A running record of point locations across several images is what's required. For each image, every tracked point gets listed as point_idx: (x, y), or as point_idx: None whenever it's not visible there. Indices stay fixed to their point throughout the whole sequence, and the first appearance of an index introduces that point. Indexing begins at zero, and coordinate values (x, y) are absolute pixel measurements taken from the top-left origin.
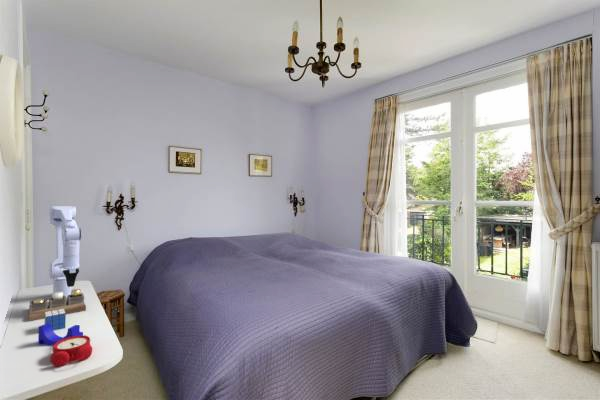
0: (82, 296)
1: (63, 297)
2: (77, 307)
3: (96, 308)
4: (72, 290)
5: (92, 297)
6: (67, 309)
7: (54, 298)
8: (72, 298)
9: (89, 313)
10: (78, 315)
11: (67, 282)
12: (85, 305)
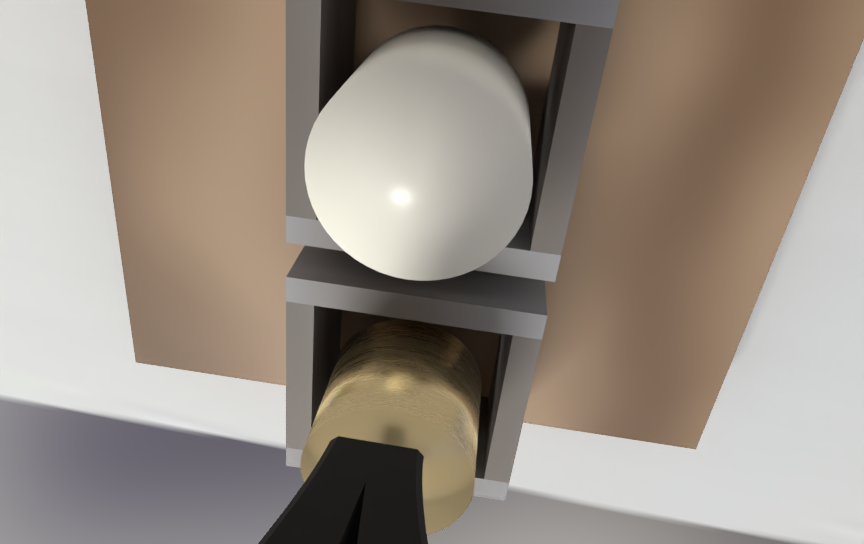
0: (288, 443)
1: (532, 235)
2: (126, 274)
3: (182, 416)
4: (401, 433)
5: (702, 519)
6: (108, 153)
7: (364, 60)
8: (288, 319)
9: (27, 319)
10: (10, 215)
11: (262, 539)
12: (159, 363)
